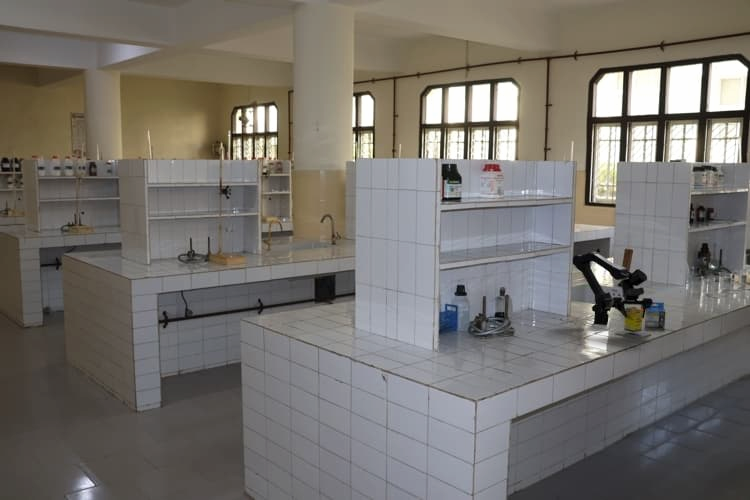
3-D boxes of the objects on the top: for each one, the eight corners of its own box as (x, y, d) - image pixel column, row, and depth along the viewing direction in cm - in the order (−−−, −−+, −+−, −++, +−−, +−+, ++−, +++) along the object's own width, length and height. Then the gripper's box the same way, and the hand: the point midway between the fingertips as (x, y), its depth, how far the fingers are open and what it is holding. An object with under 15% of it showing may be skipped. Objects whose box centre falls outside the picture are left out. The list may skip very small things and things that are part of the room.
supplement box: (634, 332, 321) (636, 310, 319) (623, 329, 326) (625, 307, 324) (642, 331, 324) (643, 308, 323) (631, 328, 329) (632, 306, 328)
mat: (638, 339, 317) (638, 338, 317) (615, 334, 326) (615, 333, 326) (650, 335, 325) (650, 334, 325) (627, 330, 334) (627, 329, 333)
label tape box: (646, 327, 341) (648, 303, 340) (644, 325, 345) (646, 301, 344) (664, 327, 340) (666, 304, 338) (662, 326, 344) (664, 302, 342)
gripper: (614, 280, 326) (620, 308, 316) (653, 281, 325) (660, 309, 316) (607, 293, 335) (613, 320, 325) (645, 294, 334) (652, 321, 325)
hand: (634, 317), depth 323 cm, fingers closed on supplement box, 8 cm apart
